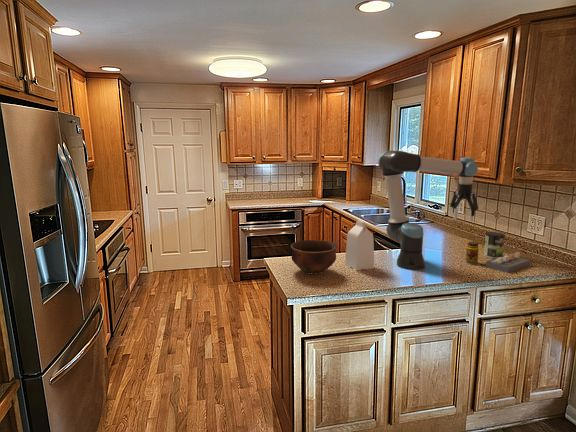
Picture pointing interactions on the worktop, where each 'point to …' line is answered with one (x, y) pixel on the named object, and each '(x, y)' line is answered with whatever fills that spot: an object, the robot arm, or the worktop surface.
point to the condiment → (472, 254)
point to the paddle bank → (508, 258)
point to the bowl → (313, 255)
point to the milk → (360, 247)
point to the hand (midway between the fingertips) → (462, 219)
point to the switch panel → (508, 264)
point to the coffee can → (494, 244)
